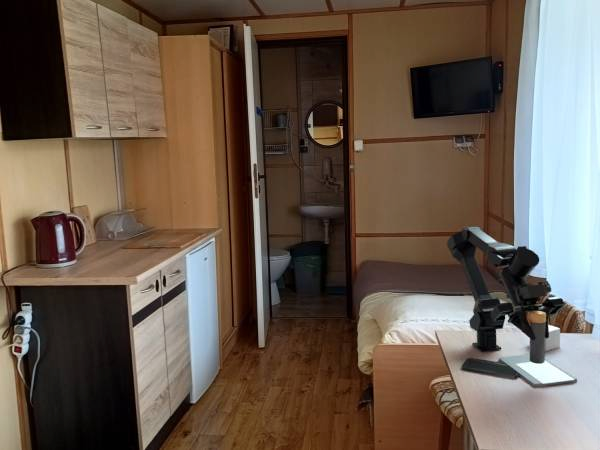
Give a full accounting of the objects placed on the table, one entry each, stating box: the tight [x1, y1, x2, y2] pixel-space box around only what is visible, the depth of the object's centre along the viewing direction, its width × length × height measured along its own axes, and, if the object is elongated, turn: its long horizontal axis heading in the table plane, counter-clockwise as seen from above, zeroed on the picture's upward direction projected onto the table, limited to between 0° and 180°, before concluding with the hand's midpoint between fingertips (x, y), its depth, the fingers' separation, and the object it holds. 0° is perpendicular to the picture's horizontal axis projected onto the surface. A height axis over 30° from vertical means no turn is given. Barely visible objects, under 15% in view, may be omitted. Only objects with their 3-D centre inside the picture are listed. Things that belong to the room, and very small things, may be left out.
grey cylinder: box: [529, 311, 546, 364], centre depth 137 cm, size 4×4×13 cm
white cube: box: [545, 324, 561, 352], centre depth 162 cm, size 6×6×6 cm
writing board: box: [498, 353, 578, 388], centre depth 146 cm, size 18×12×1 cm, turn 8°
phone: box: [461, 357, 520, 380], centre depth 148 cm, size 8×1×15 cm
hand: (540, 338), depth 136 cm, fingers closed on grey cylinder, 4 cm apart
